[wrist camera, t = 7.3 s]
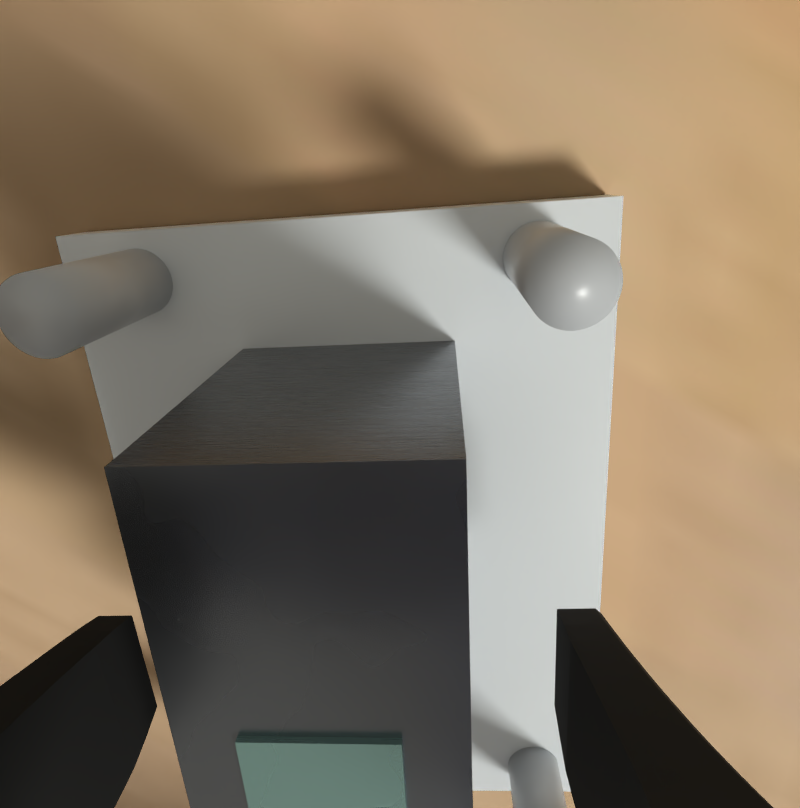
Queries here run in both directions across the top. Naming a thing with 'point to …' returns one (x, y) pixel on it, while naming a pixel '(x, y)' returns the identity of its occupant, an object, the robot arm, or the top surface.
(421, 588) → the block
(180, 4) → the top surface
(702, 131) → the top surface
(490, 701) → the tray
